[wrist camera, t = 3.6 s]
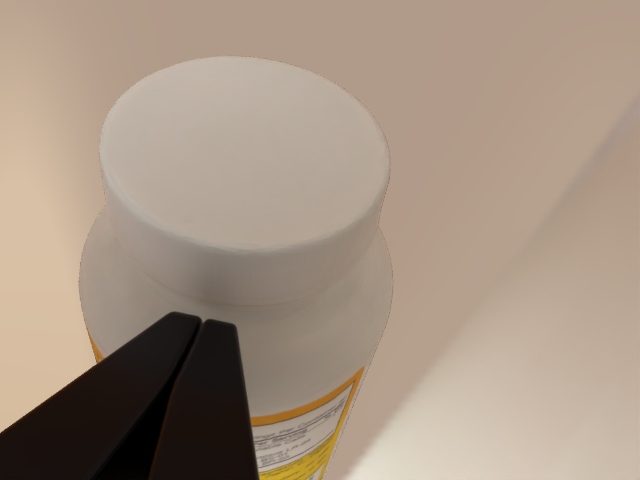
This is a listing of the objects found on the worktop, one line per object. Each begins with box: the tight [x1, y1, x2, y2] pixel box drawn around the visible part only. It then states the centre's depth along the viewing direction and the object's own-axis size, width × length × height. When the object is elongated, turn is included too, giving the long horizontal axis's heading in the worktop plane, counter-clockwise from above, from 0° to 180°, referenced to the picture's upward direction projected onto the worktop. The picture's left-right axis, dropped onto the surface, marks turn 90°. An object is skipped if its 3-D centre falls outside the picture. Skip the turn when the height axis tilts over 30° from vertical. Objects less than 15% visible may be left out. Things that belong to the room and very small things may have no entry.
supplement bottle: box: [79, 56, 393, 480], centre depth 12 cm, size 5×5×10 cm
